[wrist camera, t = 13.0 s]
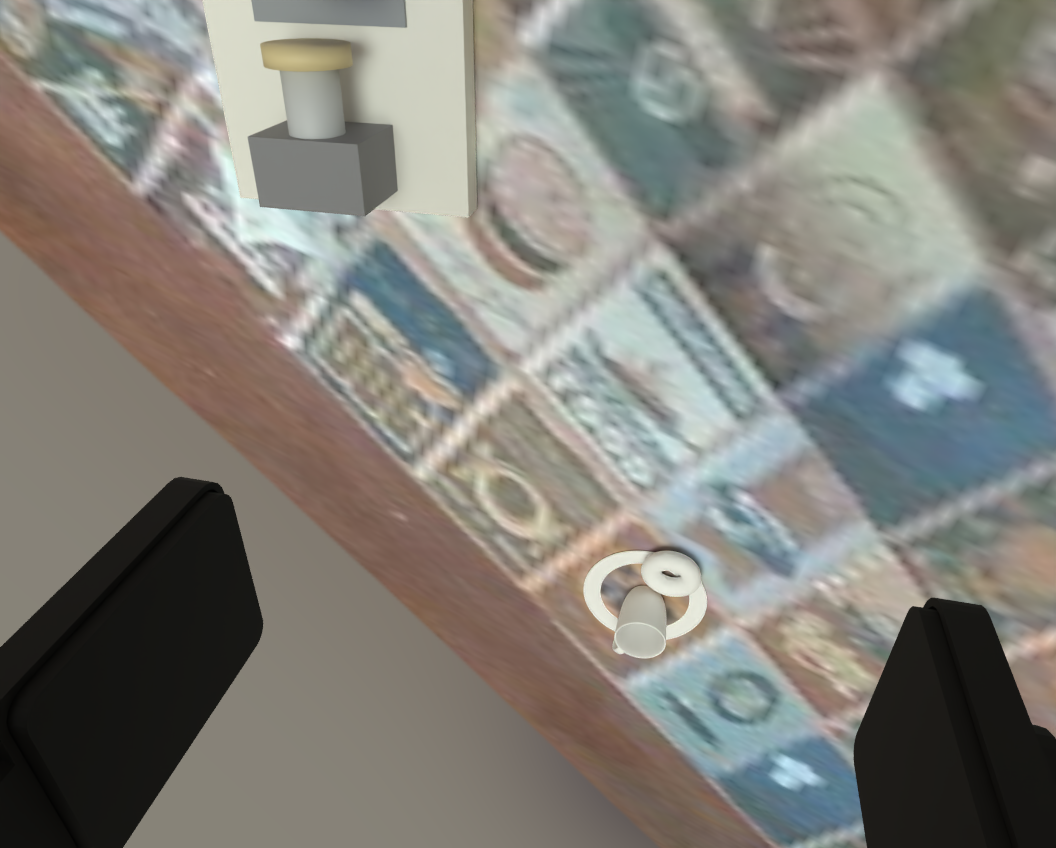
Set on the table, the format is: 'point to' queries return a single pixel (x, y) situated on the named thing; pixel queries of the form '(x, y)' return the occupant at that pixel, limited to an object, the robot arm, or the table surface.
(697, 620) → the teacup and saucer
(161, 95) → the table surface
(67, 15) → the table surface
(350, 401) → the table surface
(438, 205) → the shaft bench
